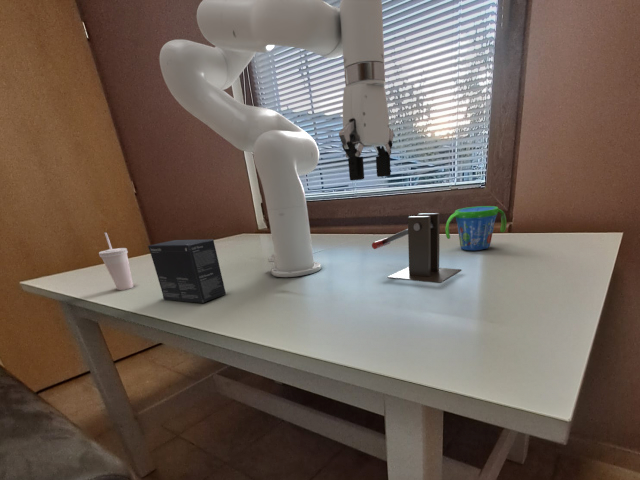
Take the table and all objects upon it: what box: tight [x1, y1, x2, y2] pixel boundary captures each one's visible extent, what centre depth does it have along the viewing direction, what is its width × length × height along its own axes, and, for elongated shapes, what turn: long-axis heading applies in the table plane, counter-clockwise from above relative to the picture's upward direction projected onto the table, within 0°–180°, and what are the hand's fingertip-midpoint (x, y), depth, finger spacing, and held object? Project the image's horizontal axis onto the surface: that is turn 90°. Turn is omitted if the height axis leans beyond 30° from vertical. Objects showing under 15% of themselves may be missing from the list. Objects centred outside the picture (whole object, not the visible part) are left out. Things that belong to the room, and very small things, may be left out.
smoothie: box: [98, 232, 134, 291], centre depth 95 cm, size 6×6×14 cm
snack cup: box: [444, 205, 507, 252], centre depth 99 cm, size 16×10×10 cm
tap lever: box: [371, 219, 434, 250], centre depth 78 cm, size 13×6×2 cm, turn 53°
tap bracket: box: [387, 212, 462, 284], centre depth 77 cm, size 12×10×13 cm
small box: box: [147, 238, 227, 304], centre depth 81 cm, size 13×7×12 cm, turn 61°
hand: (370, 178), depth 78 cm, fingers open, 9 cm apart
